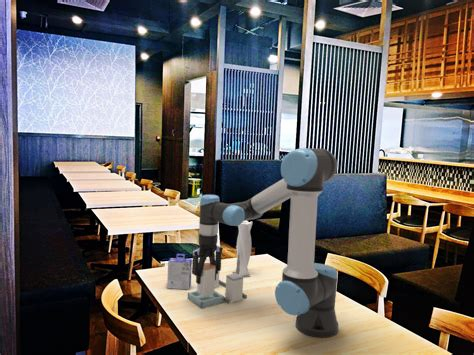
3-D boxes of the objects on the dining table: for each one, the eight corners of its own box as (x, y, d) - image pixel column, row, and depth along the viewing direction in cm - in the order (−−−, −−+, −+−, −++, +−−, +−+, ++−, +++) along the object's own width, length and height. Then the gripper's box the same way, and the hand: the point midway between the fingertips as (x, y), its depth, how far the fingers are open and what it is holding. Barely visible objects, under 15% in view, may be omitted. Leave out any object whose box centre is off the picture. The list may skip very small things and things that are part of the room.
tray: (223, 302, 165) (223, 296, 164) (201, 308, 158) (201, 302, 158) (209, 293, 173) (209, 287, 173) (187, 298, 167) (187, 292, 166)
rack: (246, 298, 170) (247, 275, 169) (227, 303, 164) (228, 280, 163) (216, 281, 187) (217, 260, 186) (198, 285, 181) (199, 264, 180)
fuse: (214, 294, 165) (215, 266, 164) (203, 297, 162) (204, 268, 160) (207, 290, 169) (208, 262, 167) (197, 292, 166) (198, 264, 164)
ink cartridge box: (191, 285, 181) (192, 253, 180) (189, 290, 176) (190, 257, 174) (169, 284, 181) (170, 252, 180) (166, 288, 176) (167, 256, 174)
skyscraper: (231, 271, 201) (234, 216, 198) (246, 270, 204) (249, 215, 200) (236, 277, 193) (239, 219, 190) (252, 276, 196) (255, 219, 192)
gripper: (221, 229, 171) (218, 282, 174) (183, 234, 160) (181, 290, 163) (232, 233, 165) (229, 288, 168) (193, 238, 154) (191, 297, 157)
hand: (205, 289), depth 165 cm, fingers closed on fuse, 5 cm apart
